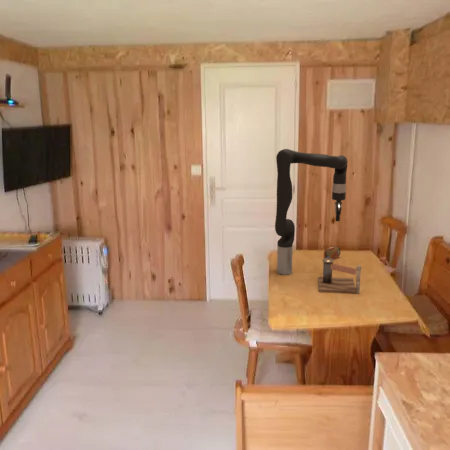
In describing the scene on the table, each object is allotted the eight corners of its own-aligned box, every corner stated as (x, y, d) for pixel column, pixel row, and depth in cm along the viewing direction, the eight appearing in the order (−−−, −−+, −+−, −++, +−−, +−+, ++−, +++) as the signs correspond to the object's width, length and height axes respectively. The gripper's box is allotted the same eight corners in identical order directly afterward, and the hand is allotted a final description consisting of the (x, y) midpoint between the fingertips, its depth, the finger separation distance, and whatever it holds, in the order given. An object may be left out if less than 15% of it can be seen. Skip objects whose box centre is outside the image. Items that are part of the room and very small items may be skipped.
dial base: (317, 279, 273) (318, 253, 269) (356, 280, 269) (357, 255, 266) (318, 291, 254) (319, 264, 250) (360, 293, 250) (361, 266, 246)
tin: (326, 262, 303) (326, 250, 301) (322, 261, 305) (323, 249, 303) (340, 257, 312) (341, 245, 310) (336, 256, 314) (337, 244, 312)
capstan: (319, 281, 264) (320, 260, 261) (325, 278, 268) (326, 257, 265) (352, 290, 251) (353, 267, 248) (357, 286, 255) (358, 264, 252)
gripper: (331, 189, 269) (330, 218, 273) (332, 193, 256) (331, 223, 260) (344, 189, 267) (343, 218, 272) (346, 193, 255) (345, 223, 259)
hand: (337, 220), depth 266 cm, fingers closed
